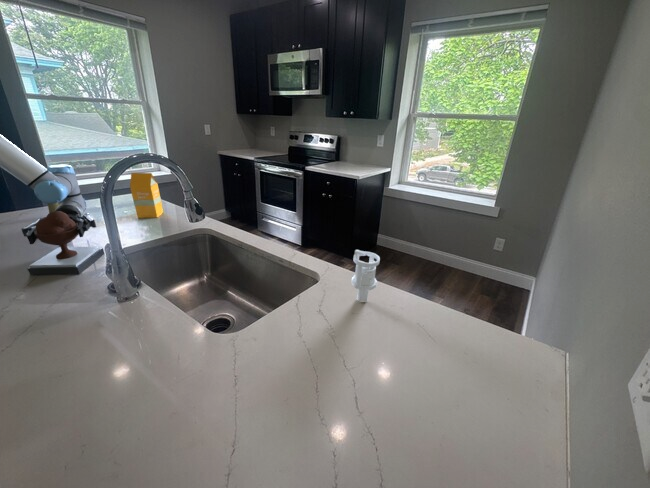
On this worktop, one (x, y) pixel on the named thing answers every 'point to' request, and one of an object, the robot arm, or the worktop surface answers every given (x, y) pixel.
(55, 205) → the cork
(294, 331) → the worktop surface
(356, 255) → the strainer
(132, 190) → the orange juice
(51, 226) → the ice cream bowl
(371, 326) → the worktop surface
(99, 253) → the scale
